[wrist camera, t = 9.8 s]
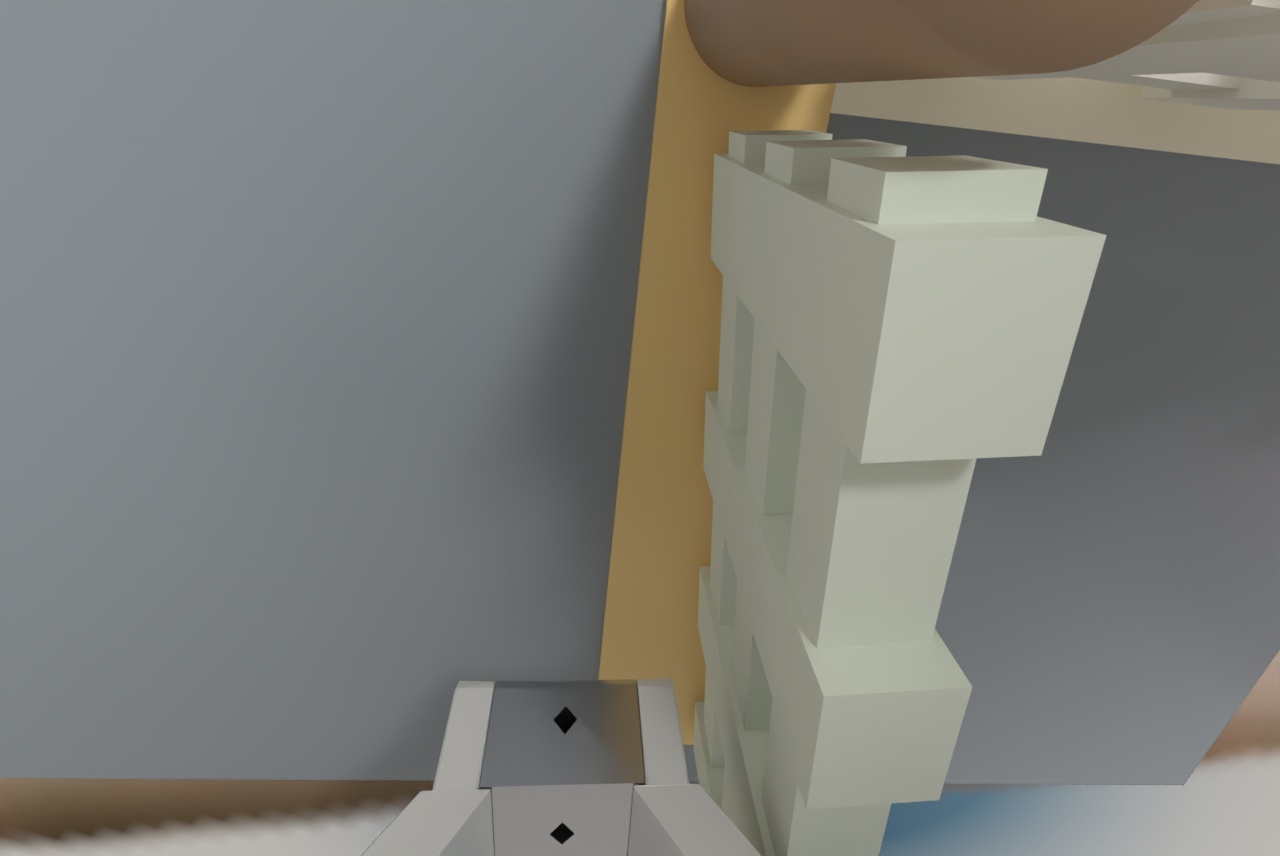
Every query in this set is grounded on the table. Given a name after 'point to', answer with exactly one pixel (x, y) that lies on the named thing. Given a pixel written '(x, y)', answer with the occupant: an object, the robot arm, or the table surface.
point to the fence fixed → (1001, 43)
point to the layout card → (554, 388)
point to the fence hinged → (859, 461)
